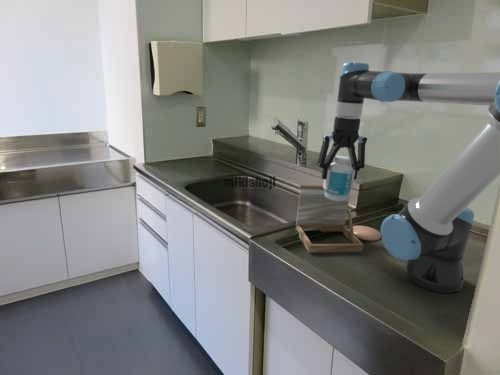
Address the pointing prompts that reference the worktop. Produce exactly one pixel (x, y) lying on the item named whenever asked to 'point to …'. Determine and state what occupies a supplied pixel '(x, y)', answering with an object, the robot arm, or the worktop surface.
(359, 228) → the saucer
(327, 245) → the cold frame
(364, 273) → the worktop surface
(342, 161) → the pill bottle
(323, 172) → the robot arm
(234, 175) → the worktop surface
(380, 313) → the worktop surface
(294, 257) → the worktop surface
